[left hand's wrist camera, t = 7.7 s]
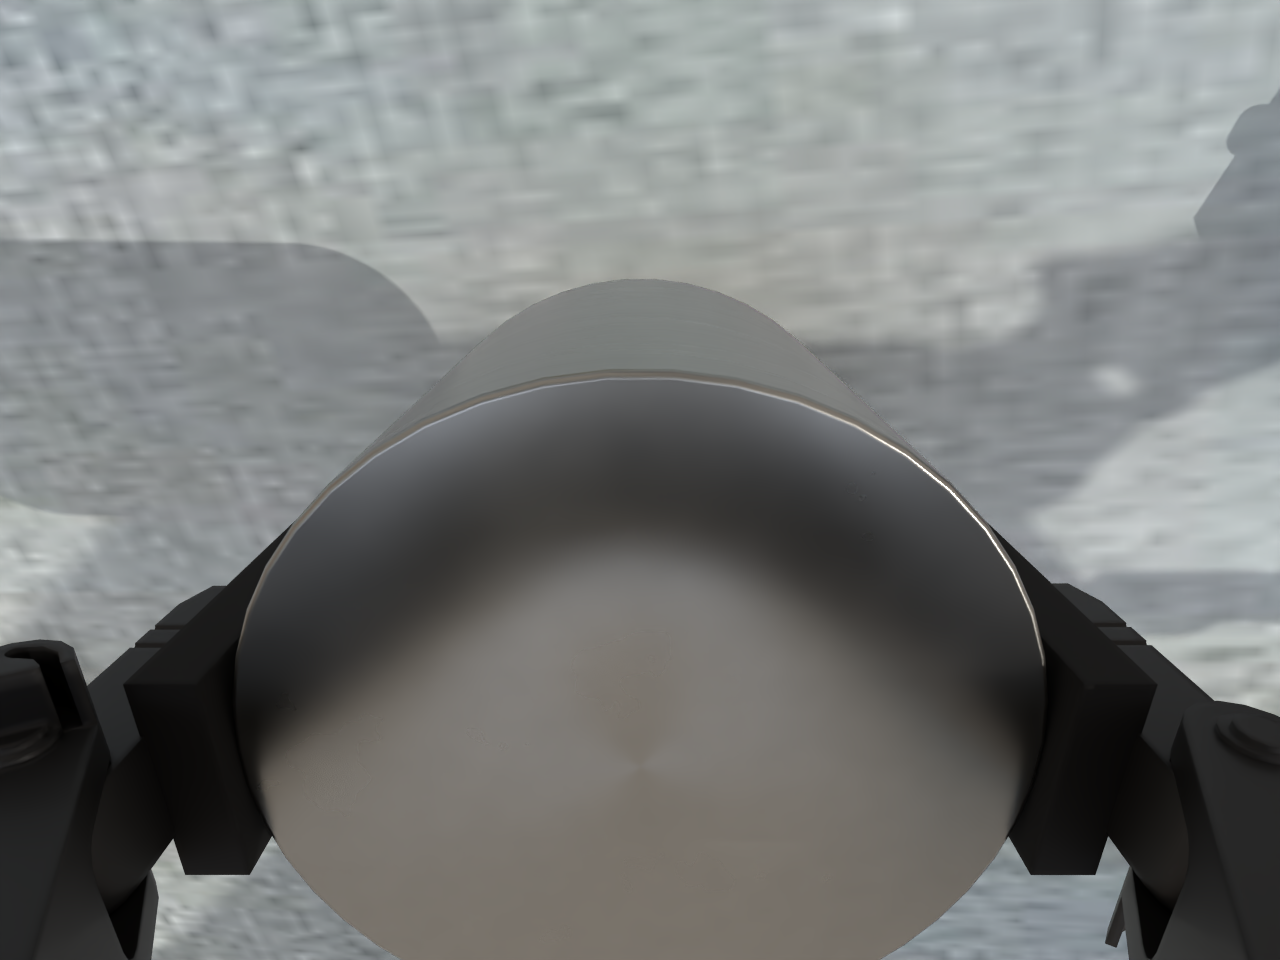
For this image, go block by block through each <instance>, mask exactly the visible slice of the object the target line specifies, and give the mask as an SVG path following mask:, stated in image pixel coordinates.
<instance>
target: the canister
mask: <svg viewBox="0 0 1280 960" xmlns="http://www.w3.org/2000/svg"><path fill="white" fill-rule="evenodd" d="M1047 709H1048V691H1047V677H1046V662H1045V653H1044V649H1043V645H1042V641H1041V637H1040V633H1039V629H1038V624H1037V620H1036V616H1035V612H1034V609H1033V606H1032V604H1031V602H1030V599H1029V597H1028V595H1027V592H1026V590H1025V588H1024V586H1023V583H1022V581H1021V579H1020V576H1019V574H1018V572H1017V569H1016V567H1015V565H1014V563H1013V562H1012V560H1011V559H1010V557H1009V556H1008V554H1007V553H1006V551H1005V550H1004V548H1003V547H1002V545H1001V543H1000V542H999V540H998V539H997V537H996V536H995V534H994V533H993V531H992V530H991V528H990V526H989V525H988V523H987V522H986V521H985V520H984V519H983V518H982V517H981V516H980V514H979V513H978V512H977V511H976V510H975V509H974V508H973V507H972V506H971V505H970V503H969V502H968V501H967V500H966V499H965V498H964V497H963V496H962V495H961V494H960V492H959V491H958V490H957V489H956V488H955V487H954V486H953V485H952V484H951V483H950V482H949V481H948V480H947V479H946V478H945V477H944V476H943V475H942V474H941V473H940V472H939V471H937V470H936V469H935V468H934V467H933V466H932V465H931V464H930V463H929V462H928V461H927V460H926V459H925V458H924V457H922V456H921V455H920V454H919V453H918V452H917V451H916V450H915V449H914V448H913V447H912V446H911V445H910V444H909V443H907V442H906V441H905V440H904V439H903V438H902V437H901V436H900V435H899V434H898V433H897V432H896V431H895V430H894V429H892V428H891V427H890V426H889V425H888V424H887V423H886V422H885V421H884V420H883V419H882V418H881V417H880V416H879V415H877V414H876V413H875V412H874V411H873V410H872V409H871V408H870V407H869V406H868V405H867V404H866V403H865V402H863V401H862V400H861V399H860V398H859V397H858V396H857V395H856V394H855V393H854V392H853V391H852V390H851V389H850V388H848V387H847V386H846V385H845V384H844V383H843V382H842V381H841V380H840V379H839V378H838V377H837V376H836V375H835V374H833V373H832V372H831V371H830V370H829V369H828V368H827V367H826V366H825V365H824V364H823V363H822V362H821V361H820V360H818V359H817V358H816V357H815V356H814V355H813V354H812V353H811V352H810V351H809V350H808V349H807V348H806V347H805V346H803V345H802V344H801V343H800V342H799V341H798V340H797V339H796V338H795V337H793V336H792V335H791V334H790V333H788V332H787V331H786V330H785V329H784V328H782V327H781V326H780V325H779V324H777V323H776V322H775V321H774V320H772V319H770V318H769V317H767V316H765V315H764V314H762V313H761V312H759V311H757V310H756V309H754V308H752V307H751V306H749V305H747V304H745V303H743V302H740V301H738V300H736V299H733V298H731V297H729V296H726V295H724V294H722V293H720V292H716V291H713V290H709V289H706V288H702V287H698V286H695V285H691V284H687V283H680V282H672V281H665V280H657V279H623V280H616V281H608V282H601V283H594V284H589V285H586V286H582V287H579V288H575V289H572V290H568V291H564V292H561V293H559V294H557V295H554V296H552V297H550V298H547V299H545V300H543V301H540V302H538V303H536V304H533V305H532V306H530V307H528V308H527V309H525V310H523V311H522V312H520V313H519V314H517V315H515V316H514V317H512V318H510V319H509V320H507V321H506V322H504V323H503V324H502V325H501V326H500V327H498V328H497V329H496V330H495V331H494V332H492V333H491V334H490V335H489V336H487V337H486V338H485V339H484V340H483V341H482V342H480V343H479V344H478V345H477V346H476V347H475V348H474V349H473V350H472V351H471V352H470V353H469V354H468V355H467V356H465V357H464V358H463V359H462V360H461V361H460V362H459V363H458V364H457V365H456V366H455V367H454V368H453V369H452V370H450V371H449V372H448V373H447V374H446V375H445V376H444V377H443V378H442V379H441V380H440V381H439V382H438V383H436V384H435V385H434V386H433V387H432V388H431V389H430V390H429V391H428V392H427V393H426V394H425V395H424V396H423V397H421V398H420V399H419V400H418V401H417V402H416V403H415V404H414V405H413V406H412V407H411V408H410V409H409V410H408V411H406V412H405V413H404V414H403V415H402V416H401V417H400V418H399V419H398V420H397V421H396V422H395V423H394V424H392V425H391V426H390V427H389V428H388V429H387V430H386V431H385V432H384V433H383V434H382V435H381V436H380V437H379V438H377V439H376V440H375V441H374V442H373V443H372V444H371V445H370V446H369V447H368V448H367V449H366V450H365V451H364V452H362V453H361V454H360V455H359V456H358V457H357V458H356V459H355V460H354V461H353V462H352V463H351V464H350V465H348V466H347V467H346V468H345V469H344V470H343V471H342V472H341V473H340V474H339V475H338V476H337V477H336V478H335V479H333V480H332V481H331V482H330V483H329V484H328V485H327V486H326V487H325V489H324V490H323V491H322V492H321V493H320V494H319V495H318V496H317V497H316V499H315V500H314V501H313V502H312V503H311V504H310V505H309V506H308V507H307V509H306V510H305V511H304V512H303V513H302V514H301V515H300V516H299V517H298V519H297V520H296V521H295V522H294V523H293V524H292V526H291V527H290V529H289V530H288V532H287V534H286V535H285V537H284V538H283V540H282V541H281V543H280V544H279V546H278V547H277V549H276V551H275V552H274V554H273V555H272V557H271V558H270V560H269V561H268V563H267V565H266V566H265V569H264V571H263V573H262V575H261V578H260V580H259V582H258V585H257V587H256V589H255V592H254V594H253V596H252V599H251V601H250V603H249V606H248V608H247V611H246V615H245V619H244V623H243V627H242V631H241V636H240V640H239V644H238V648H237V652H236V658H235V672H234V687H233V711H234V721H235V731H236V741H237V747H238V751H239V754H240V758H241V762H242V765H243V769H244V773H245V777H246V780H247V784H248V787H249V789H250V791H251V794H252V796H253V798H254V800H255V803H256V805H257V807H258V810H259V812H260V814H261V816H262V819H263V821H264V823H265V825H266V826H267V828H268V830H269V831H270V833H271V835H272V836H273V838H274V839H275V841H276V843H277V844H278V846H279V847H280V849H281V851H282V852H283V854H284V855H285V857H286V859H287V860H288V861H289V862H290V864H291V865H292V866H293V867H294V868H295V870H296V871H297V872H298V873H299V874H300V876H301V877H302V878H303V879H304V881H305V882H306V883H307V884H308V885H309V887H310V888H311V889H312V890H313V891H314V892H315V893H316V894H317V895H318V896H319V897H320V898H321V899H322V900H323V901H324V902H325V903H326V904H327V905H328V906H329V907H330V908H331V909H333V910H334V911H335V912H336V913H337V914H338V915H339V916H340V917H341V918H342V919H343V920H344V921H346V922H347V923H348V924H350V925H351V926H352V927H354V928H355V929H356V930H358V931H359V932H360V933H361V934H363V935H364V936H365V937H367V938H368V939H369V940H371V941H372V942H373V943H375V944H376V945H377V946H379V947H381V948H382V949H384V950H386V951H387V952H389V953H391V954H392V955H394V956H396V957H397V958H399V959H401V960H880V959H882V958H884V957H885V956H887V955H889V954H890V953H892V952H894V951H895V950H897V949H898V948H900V947H902V946H903V945H905V944H906V943H908V942H909V941H910V940H912V939H913V938H914V937H915V936H917V935H918V934H919V933H921V932H922V931H923V930H925V929H926V928H927V927H929V926H930V925H931V924H933V923H934V922H935V921H937V920H938V919H939V918H940V917H941V916H942V915H943V914H944V913H945V912H946V911H947V910H948V909H949V908H950V907H952V906H953V905H954V904H955V903H956V902H957V901H958V900H959V899H960V898H961V897H962V896H963V895H964V894H965V893H966V892H967V891H968V890H969V889H970V888H971V887H972V885H973V884H974V883H975V882H976V880H977V879H978V878H979V877H980V876H981V874H982V873H983V872H984V871H985V869H986V868H987V867H988V866H989V865H990V863H991V862H992V861H993V860H994V858H995V857H996V855H997V854H998V852H999V850H1000V849H1001V847H1002V846H1003V844H1004V842H1005V841H1006V839H1007V838H1008V836H1009V834H1010V833H1011V831H1012V829H1013V828H1014V826H1015V825H1016V823H1017V821H1018V818H1019V816H1020V814H1021V812H1022V809H1023V807H1024V805H1025V802H1026V800H1027V798H1028V795H1029V793H1030V791H1031V789H1032V786H1033V784H1034V780H1035V776H1036V772H1037V769H1038V765H1039V761H1040V757H1041V753H1042V750H1043V746H1044V739H1045V729H1046V719H1047Z"/></svg>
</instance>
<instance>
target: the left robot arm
mask: <svg viewBox="0 0 1280 960" xmlns="http://www.w3.org/2000/svg"><path fill="white" fill-rule="evenodd" d="M293 523H294V522H293ZM293 523H292V524H293ZM292 524H291V525H290V526H289V527H288V528H287V529H286V530H285V531H284V532H283V533H282V534H281V535H280V536H279V537H278V538H277V539H276V540H274V541H273V542H272V543H271V544H270V545H269V546H268V547H267V548H266V549H265V550H264V551H263V552H262V553H261V554H260V555H259V556H258V557H257V558H255V559H254V560H253V561H252V562H251V563H250V564H249V565H248V566H247V567H246V568H245V569H244V570H243V571H242V572H241V573H240V574H239V575H238V576H237V577H235V578H234V579H233V580H232V581H231V582H230V583H229V584H228V585H227V586H212V587H210V588H208V589H206V590H205V591H203V592H201V593H199V594H197V595H195V596H193V597H192V598H190V599H188V600H186V601H184V602H182V603H180V604H179V605H178V606H176V607H175V608H174V609H173V610H172V611H171V612H170V613H169V614H167V615H166V616H165V617H164V618H163V619H162V620H161V621H160V622H158V623H157V624H156V625H155V630H149V631H148V632H147V633H146V634H145V635H144V636H143V637H142V638H141V639H139V640H138V641H137V642H136V643H135V648H129V649H128V650H127V651H126V652H125V653H124V654H123V655H121V656H120V657H119V658H118V659H117V660H116V661H115V662H114V663H112V664H111V665H110V666H109V667H108V668H107V669H106V670H105V671H103V672H102V673H101V674H100V675H99V676H98V677H97V678H96V679H94V680H93V681H92V682H91V683H90V684H89V685H88V686H87V685H86V682H85V679H84V676H83V674H82V671H81V668H80V665H79V662H78V659H77V656H76V654H75V651H74V648H73V647H71V646H69V645H67V644H65V643H64V642H62V641H52V640H33V641H25V642H18V643H11V644H7V645H4V646H0V960H151V957H152V948H153V940H154V932H155V924H156V915H157V907H158V899H159V896H158V891H157V886H156V881H155V879H154V876H153V873H152V870H151V868H152V867H153V866H154V864H155V863H156V861H157V860H158V859H159V857H160V856H161V854H162V853H163V852H164V850H165V849H166V848H167V846H168V845H169V843H170V842H171V841H172V839H174V842H175V845H176V848H177V851H178V854H179V857H180V860H181V863H182V866H183V869H184V872H185V875H250V873H251V872H252V870H253V868H254V866H255V865H256V863H257V861H258V859H259V858H260V856H261V854H262V852H263V851H264V849H265V847H266V845H267V844H268V842H269V840H270V838H271V837H272V835H271V833H270V831H269V830H268V828H267V826H266V825H265V823H264V821H263V819H262V816H261V814H260V812H259V810H258V807H257V805H256V803H255V800H254V798H253V796H252V794H251V791H250V789H249V787H248V784H247V780H246V777H245V773H244V769H243V765H242V762H241V758H240V754H239V751H238V747H237V741H236V731H235V721H234V711H233V687H234V672H235V658H236V652H237V648H238V644H239V640H240V636H241V631H242V627H243V623H244V619H245V615H246V611H247V608H248V606H249V603H250V601H251V599H252V596H253V594H254V592H255V589H256V587H257V585H258V582H259V580H260V578H261V575H262V573H263V571H264V569H265V566H266V565H267V563H268V561H269V560H270V558H271V557H272V555H273V554H274V552H275V551H276V549H277V547H278V546H279V544H280V543H281V541H282V540H283V538H284V537H285V535H286V534H287V532H288V530H289V529H290V527H291V526H292ZM988 525H989V524H988ZM989 526H990V525H989ZM990 528H991V530H992V531H993V533H994V534H995V536H996V537H997V539H998V540H999V542H1000V543H1001V545H1002V547H1003V548H1004V550H1005V551H1006V553H1007V554H1008V556H1009V557H1010V559H1011V560H1012V562H1013V563H1014V565H1015V567H1016V569H1017V572H1018V574H1019V576H1020V579H1021V581H1022V583H1023V586H1024V588H1025V590H1026V592H1027V595H1028V597H1029V599H1030V602H1031V604H1032V606H1033V609H1034V612H1035V616H1036V620H1037V624H1038V629H1039V633H1040V637H1041V641H1042V645H1043V649H1044V653H1045V662H1046V677H1047V691H1048V709H1047V719H1046V729H1045V739H1044V746H1043V750H1042V753H1041V757H1040V761H1039V765H1038V769H1037V772H1036V776H1035V780H1034V784H1033V786H1032V789H1031V791H1030V793H1029V795H1028V798H1027V800H1026V802H1025V805H1024V807H1023V809H1022V812H1021V814H1020V816H1019V818H1018V821H1017V823H1016V825H1015V826H1014V828H1013V829H1012V831H1011V833H1010V834H1009V838H1010V839H1011V841H1012V843H1013V845H1014V846H1015V848H1016V850H1017V852H1018V853H1019V855H1020V857H1021V859H1022V860H1023V862H1024V864H1025V866H1026V867H1027V869H1028V871H1029V873H1030V874H1031V875H1095V874H1096V871H1097V868H1098V865H1099V862H1100V859H1101V856H1102V853H1103V850H1104V847H1105V844H1106V841H1107V838H1108V836H1109V838H1110V839H1111V840H1112V842H1113V843H1114V844H1115V846H1116V847H1117V849H1118V850H1119V851H1120V853H1121V854H1122V855H1123V857H1124V858H1125V859H1126V861H1127V862H1128V864H1129V865H1130V867H1129V870H1128V873H1127V876H1126V879H1125V881H1124V884H1123V887H1122V890H1121V893H1120V896H1119V898H1118V901H1117V904H1116V907H1115V910H1114V913H1113V916H1112V918H1111V921H1110V924H1109V927H1108V931H1107V936H1106V941H1105V943H1106V944H1108V945H1111V946H1113V947H1117V945H1118V942H1119V939H1120V936H1121V934H1122V932H1123V931H1125V930H1126V937H1127V946H1128V954H1129V960H1280V717H1278V716H1276V715H1274V714H1271V713H1268V712H1265V711H1262V710H1259V709H1256V708H1253V707H1249V706H1246V705H1242V704H1235V703H1229V702H1222V701H1214V700H1213V699H1212V698H1211V697H1209V696H1208V695H1207V694H1206V693H1205V692H1204V691H1203V690H1202V689H1200V688H1199V687H1198V686H1197V685H1196V684H1195V683H1194V682H1192V681H1191V680H1190V679H1189V678H1188V677H1187V676H1186V675H1185V674H1183V673H1182V672H1181V671H1180V670H1179V669H1178V668H1177V667H1175V666H1174V665H1173V664H1172V663H1171V662H1170V661H1169V660H1168V659H1166V658H1165V657H1164V656H1163V655H1162V654H1161V653H1160V652H1158V651H1157V650H1156V649H1155V648H1154V647H1153V646H1152V645H1147V644H1146V640H1145V639H1144V638H1143V637H1142V636H1140V635H1139V634H1138V633H1137V632H1136V631H1135V630H1134V629H1132V628H1131V627H1126V622H1125V621H1123V620H1122V619H1121V618H1120V617H1119V616H1118V615H1117V614H1115V613H1114V612H1113V611H1112V610H1111V609H1110V608H1109V607H1108V606H1106V605H1105V604H1104V603H1103V602H1102V601H1100V600H1098V599H1096V598H1094V597H1092V596H1090V595H1089V594H1087V593H1085V592H1083V591H1081V590H1079V589H1077V588H1075V587H1073V586H1072V585H1070V584H1051V583H1050V582H1049V581H1048V580H1047V579H1046V578H1045V577H1044V576H1043V575H1042V574H1041V573H1040V572H1039V571H1038V570H1037V569H1036V568H1035V567H1033V566H1032V565H1031V564H1030V563H1029V562H1028V561H1027V560H1026V559H1025V558H1024V557H1023V556H1022V555H1021V554H1020V553H1019V552H1018V551H1017V550H1016V549H1014V548H1013V547H1012V546H1011V545H1010V544H1009V543H1008V542H1007V541H1006V540H1005V539H1004V538H1003V537H1002V536H1001V535H1000V534H999V533H998V532H997V531H995V530H994V529H993V528H992V527H991V526H990Z"/></svg>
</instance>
